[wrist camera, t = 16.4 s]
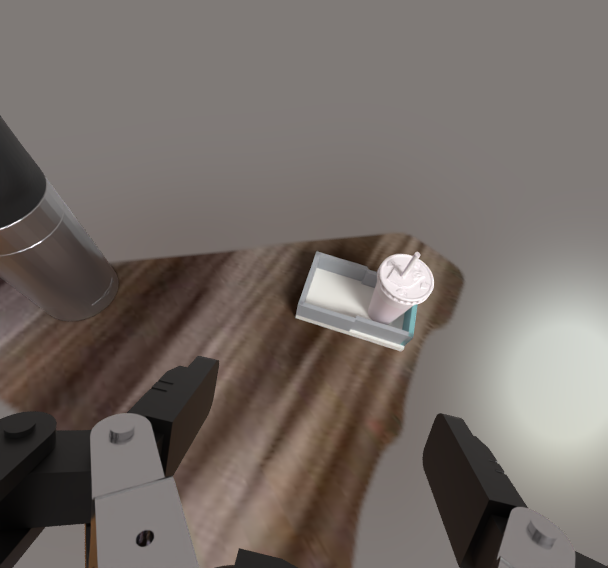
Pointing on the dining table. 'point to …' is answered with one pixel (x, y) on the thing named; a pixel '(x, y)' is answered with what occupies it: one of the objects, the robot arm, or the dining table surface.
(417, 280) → the smoothie
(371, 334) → the grey tray
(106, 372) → the dining table surface
